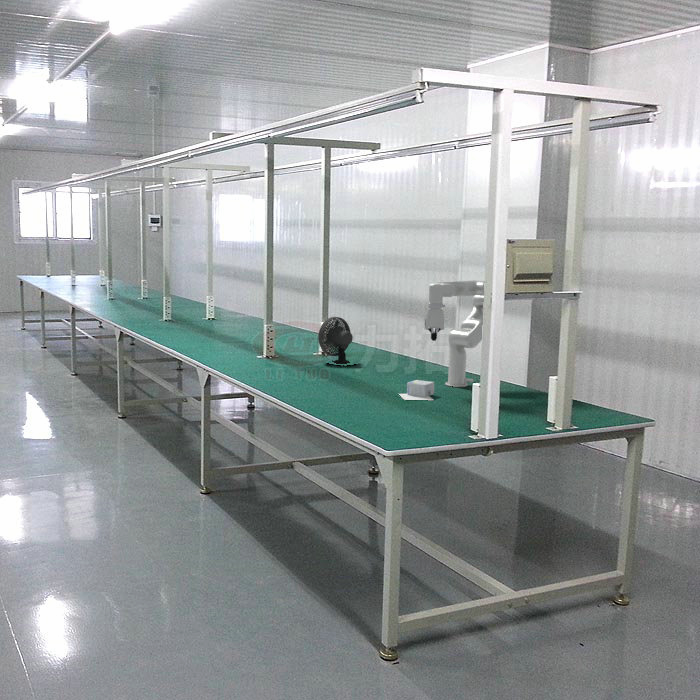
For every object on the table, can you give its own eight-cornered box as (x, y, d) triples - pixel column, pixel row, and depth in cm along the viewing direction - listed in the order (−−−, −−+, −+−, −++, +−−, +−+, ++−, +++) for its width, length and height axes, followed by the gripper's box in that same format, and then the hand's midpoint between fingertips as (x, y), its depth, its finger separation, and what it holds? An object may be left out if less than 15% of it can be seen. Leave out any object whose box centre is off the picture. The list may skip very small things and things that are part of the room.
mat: (425, 394, 402) (425, 393, 402) (433, 400, 387) (433, 399, 387) (397, 394, 400) (397, 393, 400) (405, 400, 384) (405, 400, 384)
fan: (354, 360, 512) (355, 315, 508) (360, 366, 486) (361, 319, 482) (315, 359, 509) (316, 315, 504) (319, 366, 483) (320, 319, 479)
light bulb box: (434, 394, 401) (416, 391, 407) (434, 381, 400) (416, 379, 406) (424, 397, 392) (406, 394, 398) (424, 384, 391) (406, 382, 397)
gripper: (446, 306, 415) (444, 339, 418) (420, 305, 412) (418, 339, 415) (450, 307, 408) (449, 341, 410) (423, 307, 405) (422, 341, 408)
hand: (433, 340), depth 413 cm, fingers closed
